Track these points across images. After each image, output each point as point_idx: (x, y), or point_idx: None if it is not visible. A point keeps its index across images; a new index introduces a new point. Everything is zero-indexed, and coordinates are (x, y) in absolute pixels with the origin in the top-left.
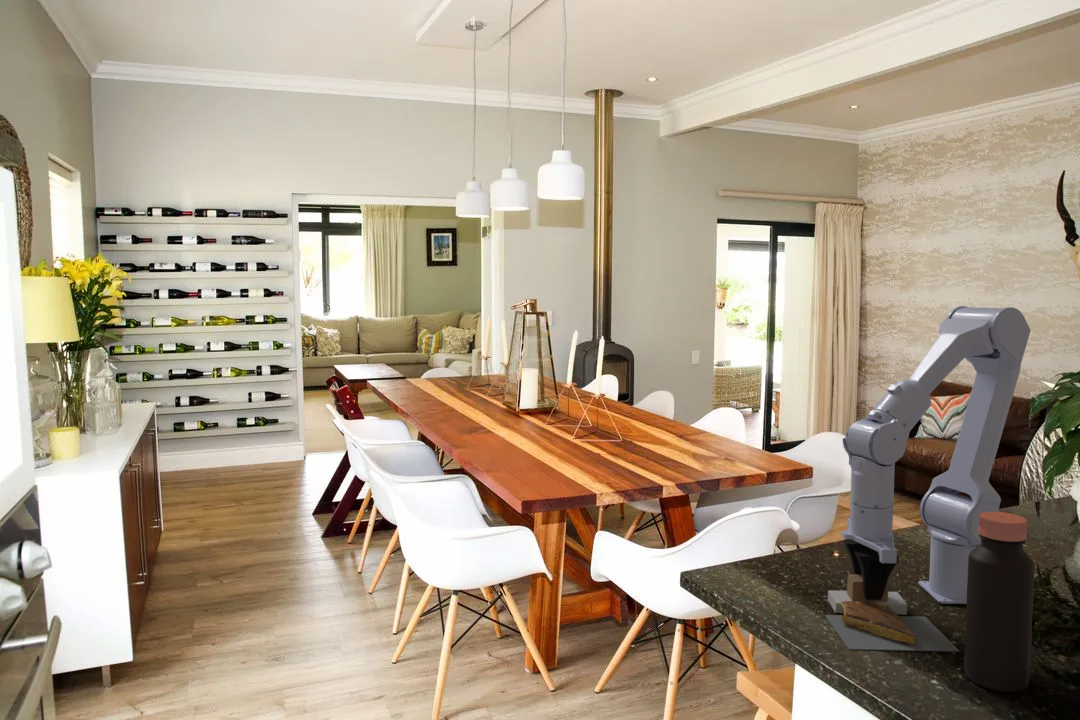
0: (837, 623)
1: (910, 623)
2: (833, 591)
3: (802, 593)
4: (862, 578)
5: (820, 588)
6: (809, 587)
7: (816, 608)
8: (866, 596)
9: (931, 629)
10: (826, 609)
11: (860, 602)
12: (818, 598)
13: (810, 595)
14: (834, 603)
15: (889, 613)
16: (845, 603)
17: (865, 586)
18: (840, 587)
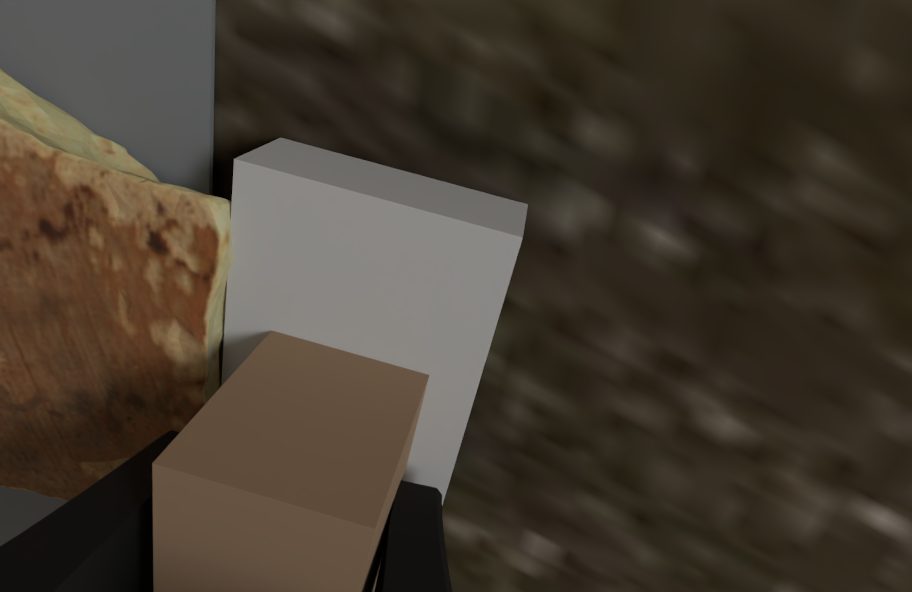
0: (23, 20)
1: None
2: (486, 277)
3: (802, 50)
4: (59, 579)
5: (832, 293)
6: (906, 207)
7: (401, 3)
8: (151, 445)
9: None
10: (367, 96)
11: (178, 365)
12: (626, 155)
13: (721, 112)
14: (288, 163)
15: (3, 452)
16: (161, 228)
17: (57, 512)
18: (776, 448)
